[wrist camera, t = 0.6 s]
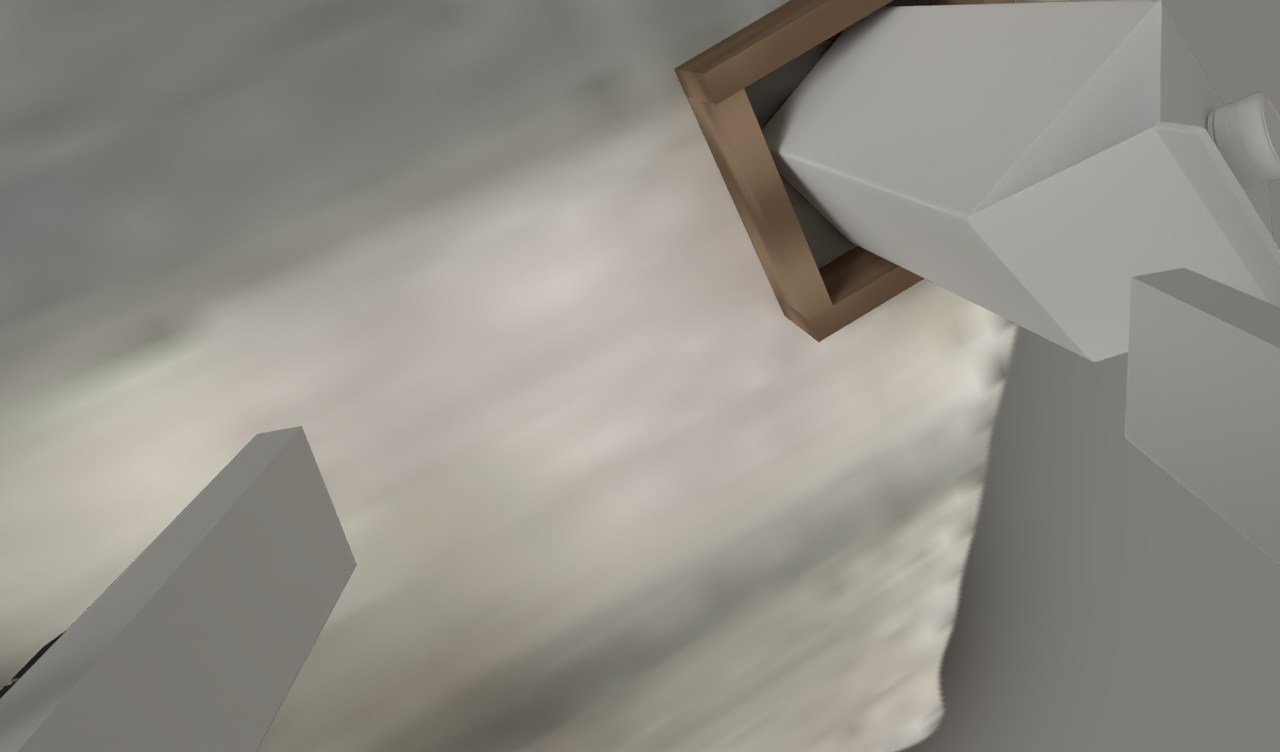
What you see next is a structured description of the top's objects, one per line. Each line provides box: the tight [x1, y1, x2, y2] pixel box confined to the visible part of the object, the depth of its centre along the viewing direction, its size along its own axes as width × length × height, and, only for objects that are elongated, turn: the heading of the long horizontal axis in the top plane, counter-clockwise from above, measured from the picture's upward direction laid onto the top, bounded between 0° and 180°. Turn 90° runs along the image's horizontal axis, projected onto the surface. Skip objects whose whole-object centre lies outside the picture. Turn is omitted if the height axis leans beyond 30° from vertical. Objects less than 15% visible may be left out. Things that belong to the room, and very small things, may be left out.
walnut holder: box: [675, 0, 1015, 342], centre depth 34 cm, size 12×12×4 cm
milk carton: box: [761, 0, 1280, 362], centre depth 27 cm, size 7×7×19 cm
